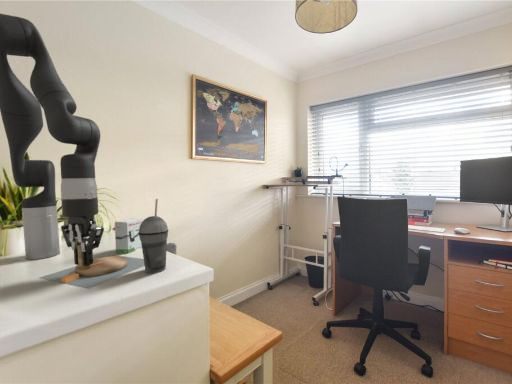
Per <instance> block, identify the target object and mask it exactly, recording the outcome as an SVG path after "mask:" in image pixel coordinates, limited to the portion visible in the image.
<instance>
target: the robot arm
mask: <svg viewBox="0 0 512 384" xmlns="http://www.w3.org/2000/svg"><path fill="white" fill-rule="evenodd" d="M43 39H44V38H43V37H42V35H41V33H40V32H39V30H38V29H37V26H36V25H35V24H34V23H33V22H32V21H30V20H29V19H26V18H24V17H20V16H16V15H15V16H14V15H11V14H5V13H0V116H1V121H2V124H3V128H4V133H5V135H6V139H7V143H8V149H9V157H10V163H11V165H10V167H11V171H12V177H13V180H14V183H15V185H17V187H19V188H43V190H42V191H40V192H39V193H36V194H34V195H32V196H29V197H26V198H23V199H22V200H21V203H20V204H21V215H22V217H21V218H22V226H23V227H22V228H23V238H24V239H23V241H24V253H25V260H40V259H46V258H51V257H54V256H58V255H60V253H61V248H60V234H59V233H60V232H59V223H58V222H59V217H58V207H57V196H56V168H55V165H54V163H53V161H51V160H48V159H47V160H46V159H45V160H44V159H25V155H26V153H27V151H28V149H29V148H30V146H31V144H32V143H33V142H34V141H35V140H36V138H37V137H38V136H39V135H40V133H41V132H42V129H43V127H44V118H43V113H44V117H45V121H46V126H47V130H48V133H49V134H50V135H51V137H52V138H53V139H54V140H56V141H57V142H59V143H62V144H67V145H76V147H75V150H74V152H73V153H70V154H69V153H68V154H64V155H62V156H61V157H60V165H59V166H60V176H61V177H60V181H61V183H60V197H61V213H62V214H61V215H62V217H64V218H67V224H64V225H61V226H60V230H61V232H62V235H63V237H64V241H65V243H66V246H67V247H68V248H71V250H72V251H73V258H74V265H75V266H77V265H79V264H78V250H77V246H78V245H81V248H82V251H83V252H82V265H83V266H89V265H92V264H93V259H94V257H93V256H94V253H93V251H94V250H95V249H97V248H99V246H100V244H101V241H102V237H103V233H104V229H105V228H104V226H98V224H97V222H96V220H95V215H98V213H99V198H98V185H97V181H96V167H95V166H96V165H95V161H96V158H97V155H98V149H99V146H100V142H101V130H100V127H99V126H98V124H97V123H96V122H95V121H94V120H93V119H90V118H87V117H82V116H77V115H74V114H75V113H76V112H77V109H78V108H77V104H76V103H77V102H76V101H75V99H74V98H73V96H72V94H71V93H70V92H69V90H68V89H67V87H66V85H65V84H64V83H63V81H62V80H61V77H60V75H59V74H58V72H57V70H56V67H55V65H54V62H53V60H52V58H51V56H50V53H49V51H48V49H47V46H46V44H45V42H44V40H43ZM8 56H15V57H26V58H27V57H28V58H29V57H30V58H32V59H33V60H34V67H33V69H32V71H31V73H30V78H29V84H30V85H29V86H30V90H31V91H30V90H29V89H28V88H27V87H26V86H25V85H24V84H23V83H22V81H21V80H20V79H19V77H17V75H16V74H15V72H14V71H13V70H12V67H11V66H10V63H9V60H8ZM42 109H43V110H42ZM86 244H87V246H86Z"/></svg>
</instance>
